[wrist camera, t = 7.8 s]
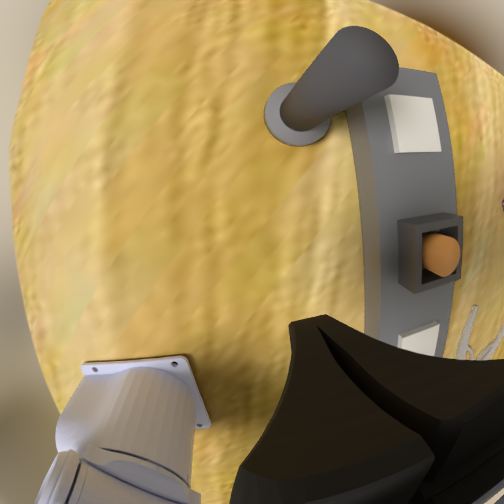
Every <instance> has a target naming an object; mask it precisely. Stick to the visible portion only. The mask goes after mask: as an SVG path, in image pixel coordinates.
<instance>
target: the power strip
mask: <svg viewBox="0 0 504 504" xmlns="http://www.w3.org/2000/svg"><path fill="white" fill-rule="evenodd" d="M346 115H347V121H348V126H349V131H350V137H351V143H352V150H353V156H354V163H355V170H356V178H357V186H358V194H359V204H360V214H361V226H362V240H363V257H364V284H365V331H364V334H366V335H368V336H370V337H372V338H375V339H377V340H380V341H382V342H385V343H387V344H390V345H392V346H395V347H398V348H402V349H405V350H409V351H412V352H416V353H420V354H425V355H430V356H436V357H443V353H444V348H445V343H446V338H447V333H448V327H449V321H450V314H451V307H452V299H453V291H454V281H456V280H459V279H460V278H461V266H462V248H463V216H458V215H457V204H456V186H455V173H454V163H453V154H452V147H451V140H450V133H449V128H448V122H447V117H446V112H445V107H444V102H443V98H442V94H441V89H440V85H439V82H438V78H437V74H436V73H431V72H425V71H420V70H414V69H407V68H400V67H399V74H398V77H397V80H396V82H395V83H394V84H393V85H392V86H391V87H389V88H387V89H385V90H383V91H381V92H379V93H377V94H375V95H373V96H371V97H369V98H367V99H365V100H363V101H361V102H359V103H357V104H355V105H354V106H352V107H350V108H348V109H346ZM429 231H433V232H436V233H439V234H442V235H446V236H449V237H452V238H454V239H455V240H456V241H457V242H458V244H459V246H460V259H459V262H458V265H457V267H456V269H455V270H454V271H453V272H452V273H451V274H450V275H448V276H446V277H441V276H439V275H437V274H435V273H433V272H431V271H429V270H428V269H426V268H424V267H422V233H424V232H429Z"/></svg>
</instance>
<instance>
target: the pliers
mask: <svg viewBox="0 0 504 504" xmlns="http://www.w3.org/2000/svg"><path fill="white" fill-rule="evenodd" d="M477 309H478V306H476V305H473V307H472V310H471V312H470V314H469V317H468V319H467V321H466V324H465V327H464V329H463V332H462V335H461V338H460V342H459V345H458V349H457V354H456V359H459V360H466V351H469V353H470V360H473V351H472V349H471V348H470V347H469V346H468V341H469V337H470V333H471V329H472V326H473V323H474V319H475V316H476V312H477ZM503 336H504V323H503V325H502V327H501V329H500V331H499V333H498V335H497V337H496V338H495V339H494V340H493V341H492V342H491V343H489V344H488V345H487V346H486V347H485V348H484V349H483V350H482V352H481V353H480V354H479V355H478V357H477V358H476V359H477V360H479V359H480V358H481V357H482V355H483V354H484V353H485V352H486V351H487V350H488V349H489V350H488V351H487V352H486V353H485V355H484V356H483V357H482V358H481V359H480V360H489V359H490V357H491V356H492V354H493V353H494V351H495V350H496V348H497V347H498V345H499V343H500V341H501V340H502V338H503Z"/></svg>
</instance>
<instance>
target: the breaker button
mask: <svg viewBox="0 0 504 504" xmlns="http://www.w3.org/2000/svg"><path fill="white" fill-rule="evenodd" d="M459 259H460V246H459V244H458V242H457V241H456V240H455V239H454V238H452V237H449V236H446V235H442V234H439V233H436V232H433V231H429V232H424V233H422V267H424V268H426V269H428V270H429V271H431V272H433V273H435V274H437V275H439V276H441V277H446V276H448V275H450V274H451V273H452V272H453V271H454V270H455V269H456V267H457V265H458V262H459Z"/></svg>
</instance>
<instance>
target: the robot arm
mask: <svg viewBox="0 0 504 504" xmlns="http://www.w3.org/2000/svg"><path fill="white" fill-rule="evenodd" d="M288 326H289V334H290V342H291V351H292V355H291V361H290V367H289V372H288V376H287V380H286V384H285V387H284V390H283V393H282V396H281V398H280V401H279V403H278V406H277V408H276V410H275V412H274V414H273V416H272V418H271V420H270V422H269V424H268V425H267V427H266V429H265V431H264V433H263V434H262V436H261V438H260V439H259V441H258V442H257V444H256V445H255V446H254V448H253V449H252V450H251V452H250V453H249V454H248V456H247V457H246V458H245V460H244V461H243V462H242V464H241V465H240V466H239V469H238V472H237V475H236V479H235V482H234V485H233V489H232V493H231V498H230V503H229V504H484V503H485V502H487V501H488V500H489V499H490V498H491V497H493V496H494V495H495V494H497V493H498V492H499V491H500V490H501V489H502V488H504V359H497V360H459V359H449V358H442V357H436V356H430V355H425V354H420V353H416V352H412V351H409V350H405V349H402V348H398V347H395V346H392V345H390V344H387V343H385V342H382V341H380V340H377V339H375V338H372V337H370V336H368V335H366V334H363V333H361V332H359V331H357V330H355V329H353V328H351V327H349V326H347V325H346V324H344V323H342V322H340V321H338V320H336V319H334V318H332V317H330V316H328V315H326V314H325V315H320V316H316V317H311V318H307V319H302V320H298V321H293V322H291V323H290V324H289V325H288ZM173 361H174V362H177V363H178V364H174V363H173ZM94 367H95V368H97V369H98V370H97V369H95V368H94ZM81 370H82V372H83V374H84V377H83V378H82V380H81V382H80V383H79V385H78V387H77V388H76V390H75V392H74V393H73V395H72V397H71V398H70V400H69V402H68V403H67V405H66V407H65V409H64V410H63V412H62V414H61V416H60V417H59V420H58V423H57V426H56V447H57V450H58V454H57V456H56V458H55V460H54V461H53V463H52V465H51V467H50V469H49V471H48V473H47V475H46V477H45V479H44V482H43V484H42V486H41V488H40V491H39V493H38V495H37V498H36V500H35V503H34V504H201V494H200V493H198V492H195V491H193V490H191V489H190V487H191V471H192V457H193V444H194V432H195V429H202V428H209V427H210V426H211V420H210V418H209V415H208V413H207V410H206V408H205V405H204V403H203V400H202V397H201V395H200V392H199V389H198V387H197V384H196V381H195V378H194V375H193V373H192V370H191V367H190V364H189V361H188V359H187V358H186V357H185V356H171V357H162V358H152V359H140V360H128V361H112V362H92V363H83V364H82V365H81ZM495 504H504V495H503V496H502V497H501V498H500V499H499V500H498V501H497V502H495Z"/></svg>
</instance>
